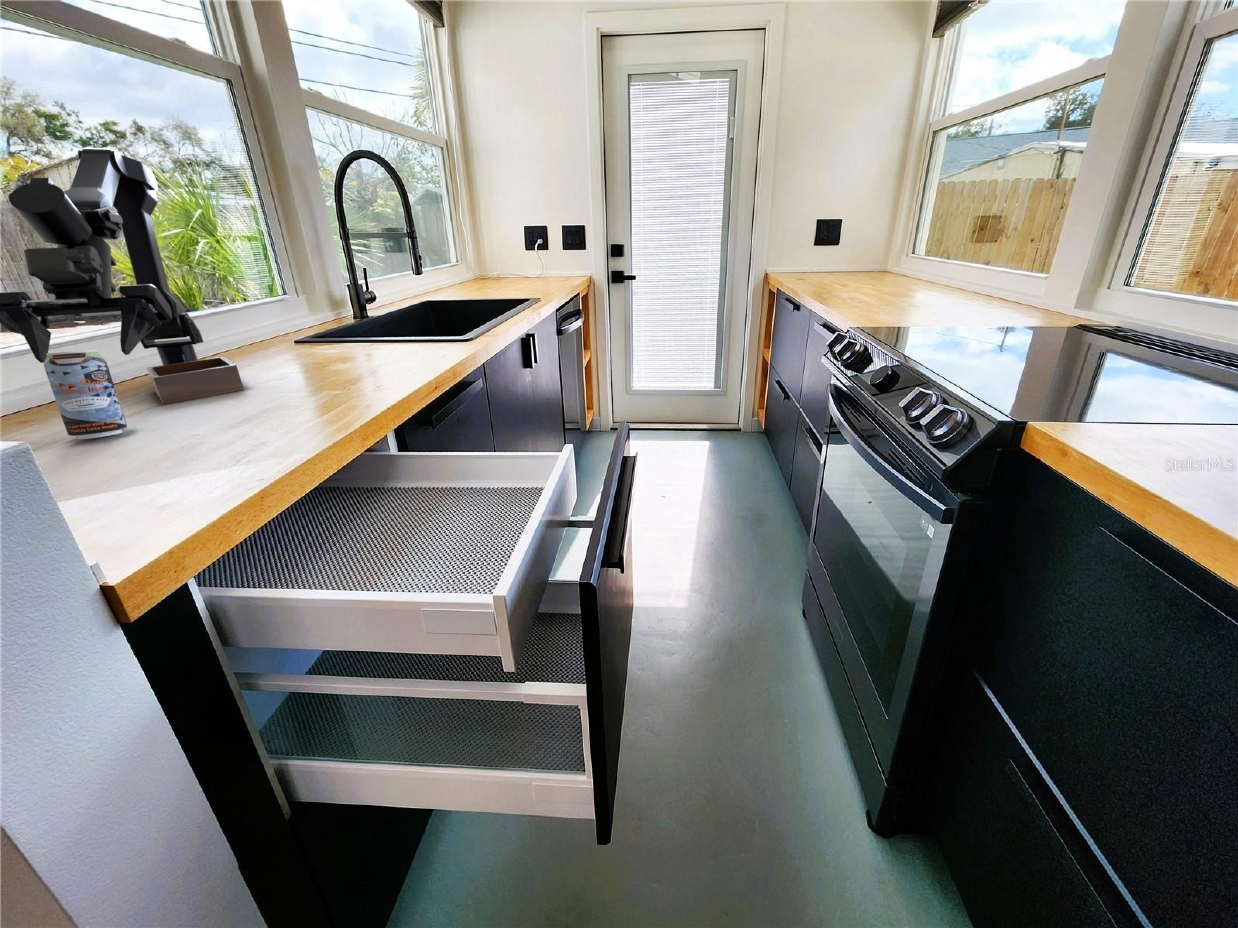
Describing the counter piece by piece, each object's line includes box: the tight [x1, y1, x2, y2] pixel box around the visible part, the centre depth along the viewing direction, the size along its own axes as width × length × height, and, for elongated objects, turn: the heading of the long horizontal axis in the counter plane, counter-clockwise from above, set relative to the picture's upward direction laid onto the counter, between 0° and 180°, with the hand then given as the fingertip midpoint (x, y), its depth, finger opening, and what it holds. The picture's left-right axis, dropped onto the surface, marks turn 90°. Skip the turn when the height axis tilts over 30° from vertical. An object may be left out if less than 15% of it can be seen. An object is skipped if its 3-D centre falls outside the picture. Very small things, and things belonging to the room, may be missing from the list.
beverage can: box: [43, 349, 128, 440], centre depth 72 cm, size 6×7×12 cm
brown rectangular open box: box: [146, 356, 245, 405], centre depth 96 cm, size 12×12×4 cm
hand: (83, 356), depth 74 cm, fingers open, 9 cm apart
